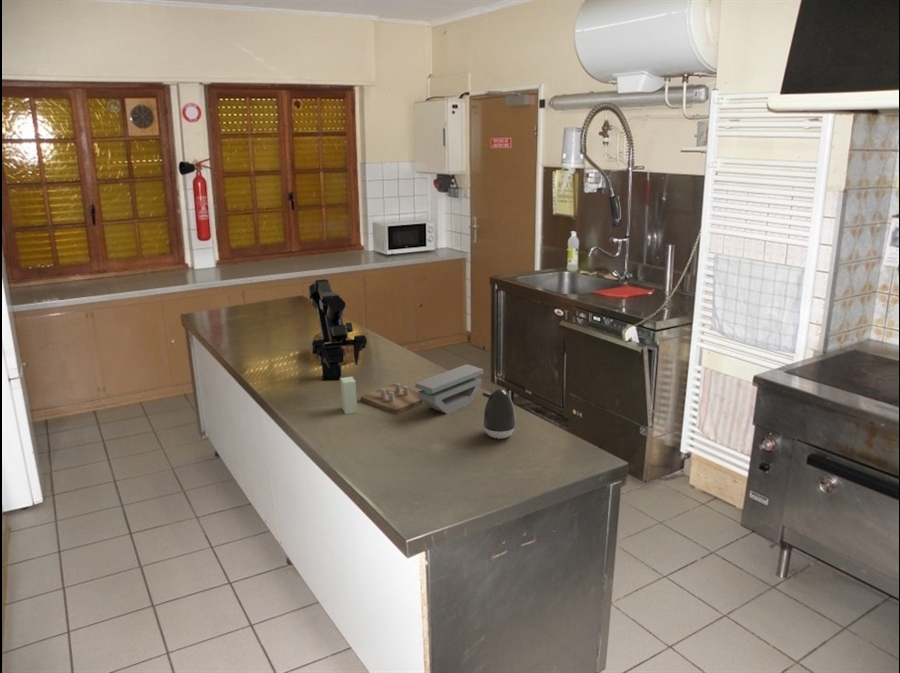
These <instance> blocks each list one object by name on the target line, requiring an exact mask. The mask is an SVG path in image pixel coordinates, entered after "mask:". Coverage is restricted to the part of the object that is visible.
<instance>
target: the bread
mask: <svg viewBox="0 0 900 673" xmlns="http://www.w3.org/2000/svg"><path fill="white" fill-rule="evenodd" d="M319 339H322V334H321V332H319V333H318V334H316V335H314V337H313V338H312V341H313V340H319ZM346 339H347V340H354V338H351V337H349V336H348V338H346ZM342 349H343V350H344V361H343V362H342V363H341V362H340V364H342V365H347V364H346V363H348V364H350V363H352V361H353V362H355V358H354V346H353V345H351V346H342ZM313 355H314V356H315V358H318V356H316V354H313ZM358 359H359V360H360V359H361V351H359V355H358ZM349 362H350V363H349Z"/></svg>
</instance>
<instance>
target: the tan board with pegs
mask: <svg viewBox="0 0 900 673" xmlns="http://www.w3.org/2000/svg"><path fill="white" fill-rule="evenodd" d="M360 401H361V402H363V401H364V403H366V402H367V403H366V404H369V403H370V404H369V405H371V404H373V405H372V406H374V405H375V407H377V406H378V407H377V408H379V407H381V408H380V409H382V408H383V410H385V409H386V410H385V411H387V410H388V412H390V411H391V413H393V412H394V414H395V413H396V415H398V414H400V413H402V411H403V412H405V411H407V410H410V409H413V408H414V406H415V407H417V406H419V405H421V403H422V404H424V403H423V401H422V400H420V399H419V398H418V391H416V390H413V389H410V387H409V386H407V385H404V386H402V384H401V383H398V382H395V383H393V384H390V385H387V386H384V387H382V388H379V389H377V390H374V391H371V392H369V393H366V394H364V395H360ZM409 408H410V409H409ZM397 413H398V414H397Z"/></svg>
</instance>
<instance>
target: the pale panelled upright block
mask: <svg viewBox="0 0 900 673" xmlns="http://www.w3.org/2000/svg"><path fill="white" fill-rule="evenodd" d="M356 384H357V382H356V379H355V378H354V376H346V377H340V387H341V388H340V389H341V407H342V410H343V412H344V414H345V415H348V414H355V412H356V413H358V403H357V401H358V399H357V385H356Z"/></svg>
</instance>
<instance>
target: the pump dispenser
mask: <svg viewBox="0 0 900 673" xmlns="http://www.w3.org/2000/svg"><path fill="white" fill-rule="evenodd" d="M481 394H482V396H483V397H486V398H488V399H487V402H486V404H485V407H484V412H483V416H482V426H483V428H484V431H485V433H486V434H487V435H488V436H489V437H491V438H494V439H496V438H497V439H496V440H500V439H501V440H502V439H503V440H504V439H506V438H509V437H510V436H511V435H512V434H513V433H514V431H515V429H516V426H517V417H516V411H515V407H514V402H513V401H512V399H511V396H510V395H509V393H508V391H506V390H505V389H503V388H496V389H494V390H493V391H492V392H491V393H488V392H484V391H483V392H482V393H481Z"/></svg>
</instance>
